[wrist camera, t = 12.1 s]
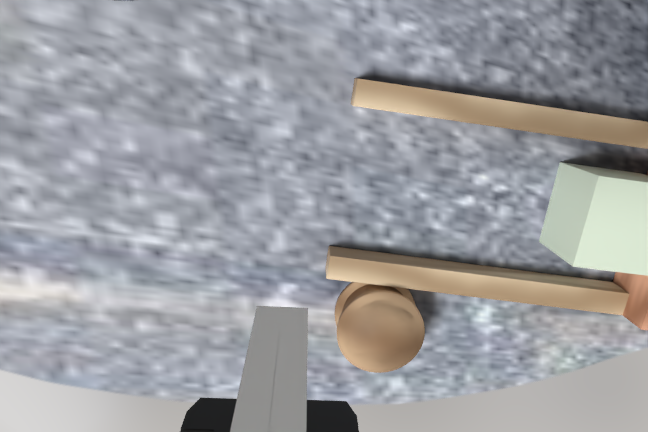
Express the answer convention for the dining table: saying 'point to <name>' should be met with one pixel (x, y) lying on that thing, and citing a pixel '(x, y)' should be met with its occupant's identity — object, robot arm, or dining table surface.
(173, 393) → the dining table surface
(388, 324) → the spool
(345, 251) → the track
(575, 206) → the pale green block
